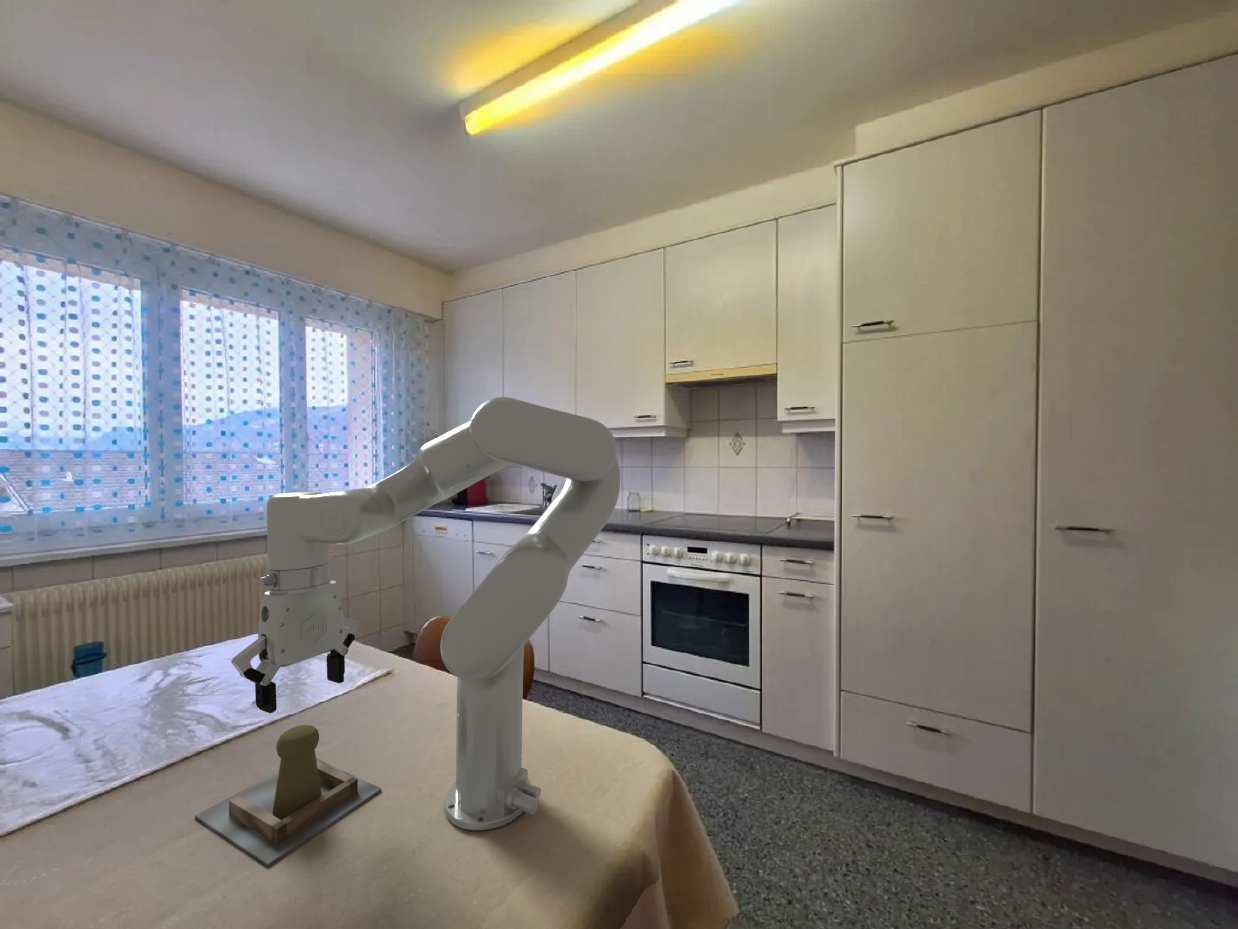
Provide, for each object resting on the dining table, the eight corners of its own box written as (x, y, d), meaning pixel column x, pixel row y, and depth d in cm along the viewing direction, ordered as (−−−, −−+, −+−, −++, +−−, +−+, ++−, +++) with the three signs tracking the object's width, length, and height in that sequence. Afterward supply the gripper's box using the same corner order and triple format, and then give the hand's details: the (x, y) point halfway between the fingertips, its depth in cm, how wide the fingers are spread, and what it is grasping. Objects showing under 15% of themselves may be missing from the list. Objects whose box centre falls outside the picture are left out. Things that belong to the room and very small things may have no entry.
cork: (331, 793, 74) (331, 720, 74) (302, 822, 68) (302, 743, 68) (293, 790, 75) (294, 718, 75) (261, 818, 69) (261, 740, 69)
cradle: (381, 791, 76) (381, 775, 76) (267, 867, 61) (267, 848, 61) (309, 757, 84) (309, 743, 84) (194, 818, 69) (194, 801, 69)
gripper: (247, 595, 62) (251, 730, 62) (371, 567, 78) (374, 676, 78) (216, 589, 66) (220, 717, 66) (340, 563, 81) (343, 667, 81)
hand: (303, 695), depth 72 cm, fingers open, 9 cm apart
